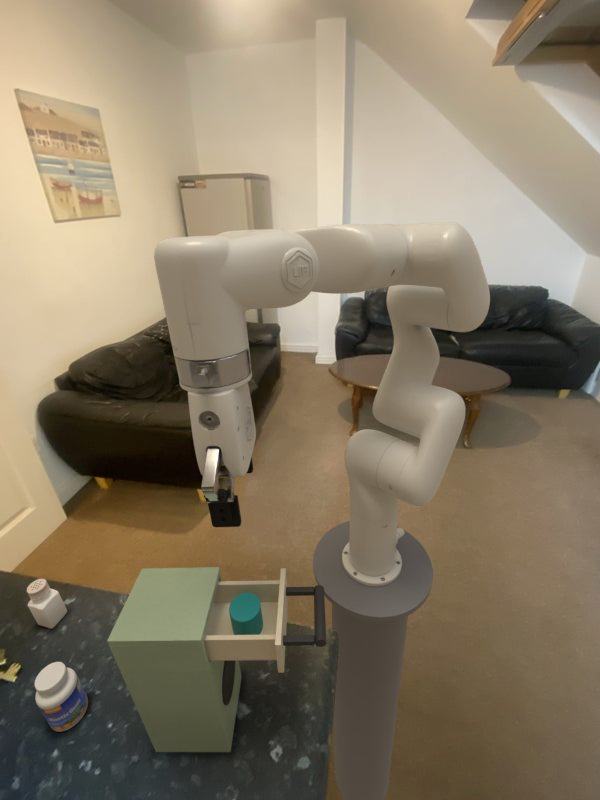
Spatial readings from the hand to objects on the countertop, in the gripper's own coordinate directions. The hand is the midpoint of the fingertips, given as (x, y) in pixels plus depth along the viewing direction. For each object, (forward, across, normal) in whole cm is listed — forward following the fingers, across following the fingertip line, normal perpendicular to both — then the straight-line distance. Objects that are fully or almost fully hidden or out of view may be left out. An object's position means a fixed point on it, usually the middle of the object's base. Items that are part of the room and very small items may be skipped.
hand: (235, 496), depth 46 cm
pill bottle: (+38, -5, +30) cm, 49 cm away
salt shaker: (+38, +11, +43) cm, 59 cm away
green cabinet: (+38, -5, +9) cm, 40 cm away
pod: (+18, -5, 0) cm, 18 cm away
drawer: (+18, -5, -2) cm, 19 cm away
